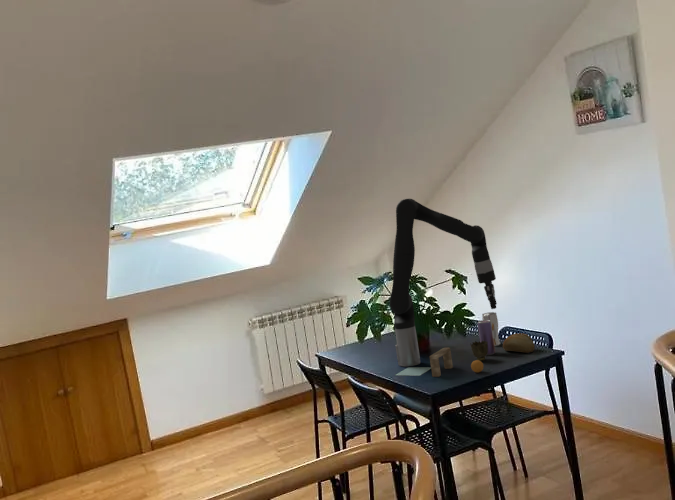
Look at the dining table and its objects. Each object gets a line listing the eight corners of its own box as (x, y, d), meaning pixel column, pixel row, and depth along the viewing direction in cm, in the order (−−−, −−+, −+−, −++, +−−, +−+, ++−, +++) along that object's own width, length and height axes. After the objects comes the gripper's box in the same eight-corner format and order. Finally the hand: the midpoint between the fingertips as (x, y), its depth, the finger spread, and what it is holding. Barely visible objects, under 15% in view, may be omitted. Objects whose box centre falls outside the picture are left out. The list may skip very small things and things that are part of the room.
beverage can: (492, 355, 323) (487, 322, 322) (479, 355, 327) (475, 322, 325) (497, 352, 328) (493, 319, 327) (485, 352, 331) (480, 319, 330)
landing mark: (395, 375, 315) (395, 375, 315) (408, 367, 324) (408, 367, 324) (419, 375, 308) (419, 375, 308) (432, 367, 318) (432, 367, 318)
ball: (470, 373, 299) (468, 362, 298) (474, 370, 303) (473, 358, 302) (481, 374, 296) (479, 362, 295) (486, 370, 300) (484, 358, 300)
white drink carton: (502, 345, 339) (498, 313, 338) (487, 347, 339) (483, 316, 338) (499, 342, 346) (495, 311, 345) (484, 344, 346) (480, 313, 345)
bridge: (432, 376, 303) (429, 356, 303) (446, 367, 315) (443, 347, 314) (438, 376, 302) (435, 356, 301) (453, 367, 313) (450, 347, 313)
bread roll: (510, 348, 332) (507, 331, 331) (540, 349, 321) (537, 331, 321) (499, 353, 325) (496, 336, 324) (529, 355, 314) (526, 337, 314)
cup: (479, 357, 323) (476, 340, 322) (493, 358, 317) (490, 340, 317) (469, 362, 318) (466, 344, 317) (483, 363, 312) (481, 345, 312)
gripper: (476, 270, 323) (486, 305, 324) (475, 275, 309) (485, 311, 310) (493, 266, 321) (502, 301, 322) (492, 271, 308) (502, 307, 308)
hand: (494, 306), depth 316 cm, fingers open, 8 cm apart
